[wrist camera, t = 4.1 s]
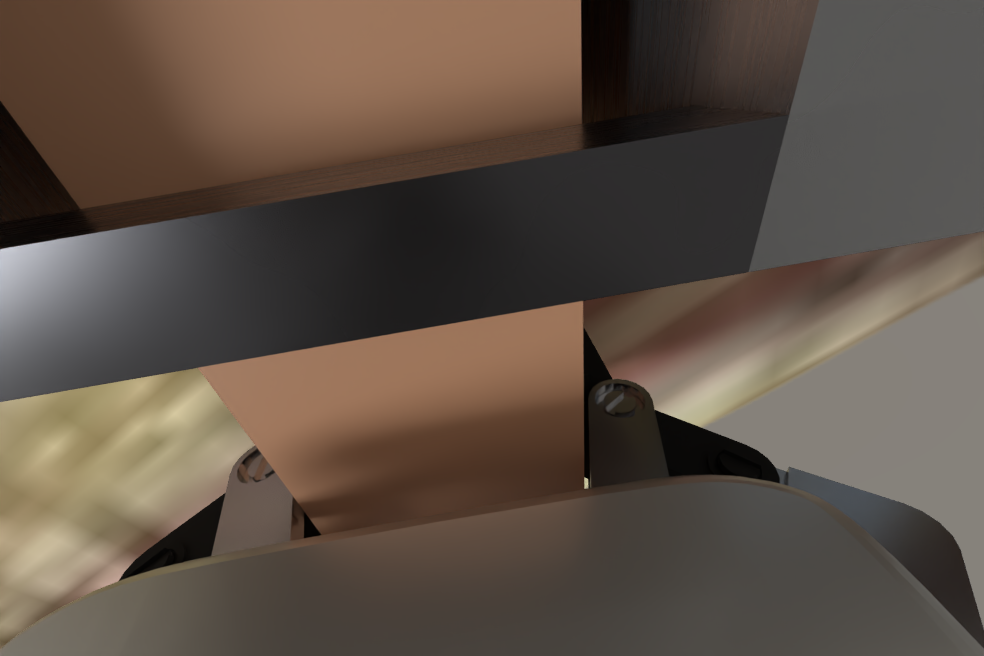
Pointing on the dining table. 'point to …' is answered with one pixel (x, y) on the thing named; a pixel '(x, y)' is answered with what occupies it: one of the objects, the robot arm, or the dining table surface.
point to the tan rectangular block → (318, 144)
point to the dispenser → (524, 196)
